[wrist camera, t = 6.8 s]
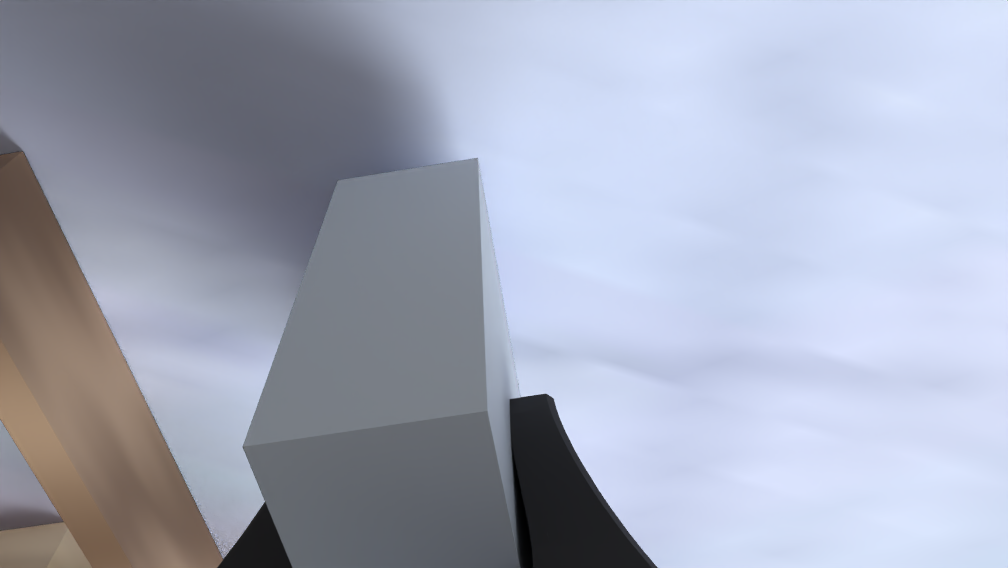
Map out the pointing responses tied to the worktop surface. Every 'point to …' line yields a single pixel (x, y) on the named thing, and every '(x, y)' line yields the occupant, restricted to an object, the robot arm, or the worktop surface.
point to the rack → (83, 400)
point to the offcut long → (41, 548)
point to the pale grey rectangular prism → (395, 386)
